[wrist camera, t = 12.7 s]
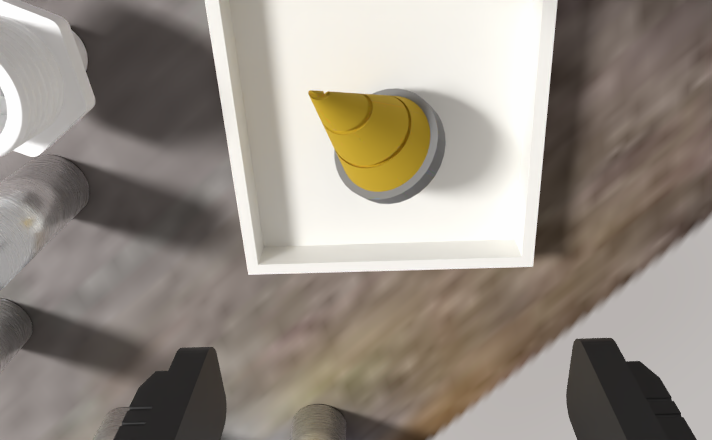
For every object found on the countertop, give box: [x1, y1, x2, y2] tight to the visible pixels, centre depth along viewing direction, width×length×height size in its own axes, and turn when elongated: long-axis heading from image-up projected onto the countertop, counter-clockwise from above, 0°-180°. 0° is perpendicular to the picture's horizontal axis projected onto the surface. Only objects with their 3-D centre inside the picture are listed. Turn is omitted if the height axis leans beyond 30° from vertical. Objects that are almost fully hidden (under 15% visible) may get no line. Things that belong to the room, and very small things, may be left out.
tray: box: [205, 0, 558, 275], centre depth 29 cm, size 15×15×2 cm
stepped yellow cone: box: [308, 88, 446, 204], centre depth 27 cm, size 5×5×10 cm
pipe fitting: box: [0, 0, 95, 157], centre depth 26 cm, size 6×7×8 cm
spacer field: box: [0, 155, 346, 440], centre depth 33 cm, size 22×23×8 cm
